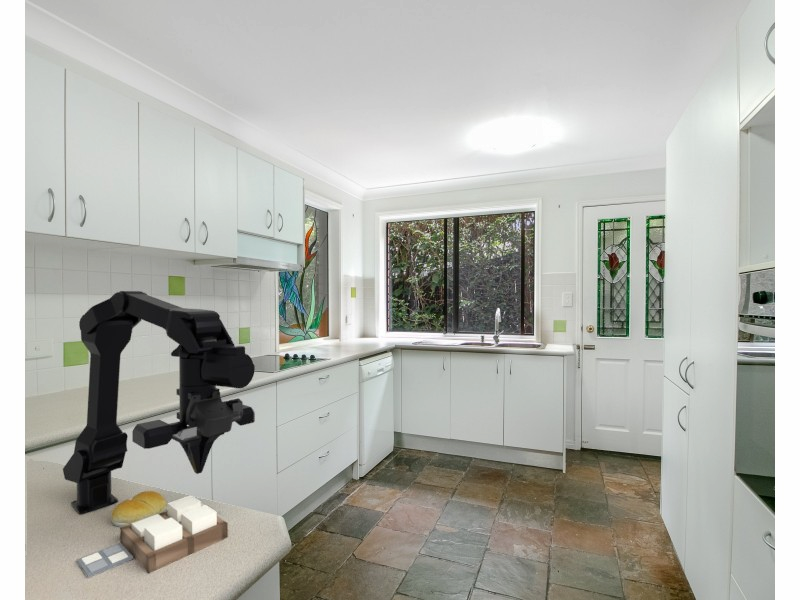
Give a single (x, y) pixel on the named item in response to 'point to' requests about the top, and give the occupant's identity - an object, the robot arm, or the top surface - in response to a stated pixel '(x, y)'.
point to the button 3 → (182, 507)
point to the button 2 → (162, 533)
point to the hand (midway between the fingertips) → (198, 472)
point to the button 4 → (198, 519)
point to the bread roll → (138, 508)
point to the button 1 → (145, 524)
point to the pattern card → (104, 559)
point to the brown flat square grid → (172, 551)
